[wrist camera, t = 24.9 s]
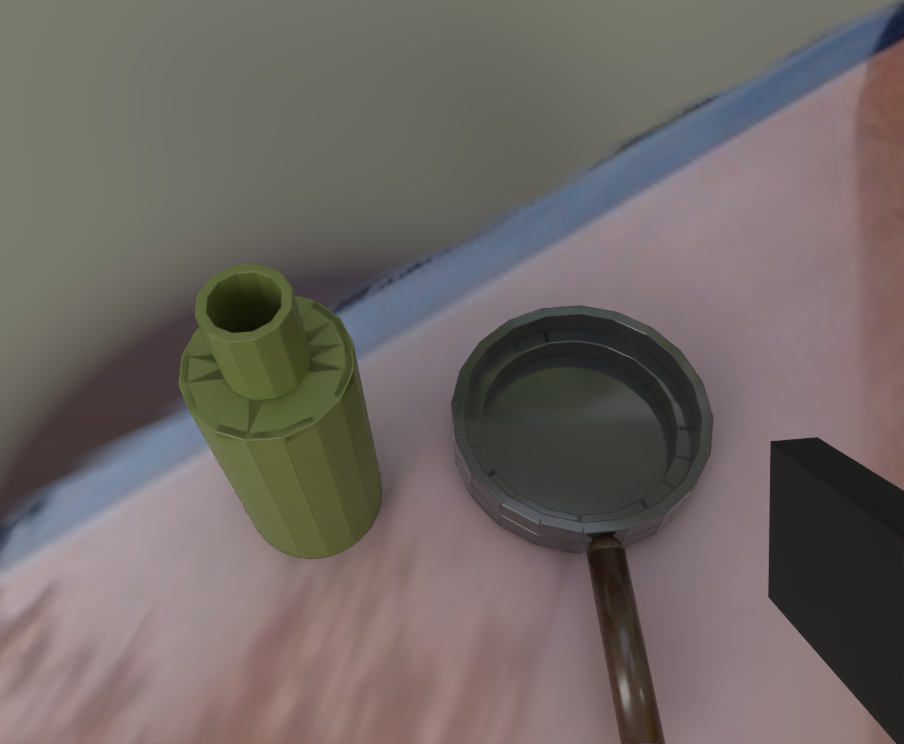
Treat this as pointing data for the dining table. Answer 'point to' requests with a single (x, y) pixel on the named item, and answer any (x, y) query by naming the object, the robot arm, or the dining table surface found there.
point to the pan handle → (623, 643)
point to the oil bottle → (283, 411)
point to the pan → (579, 427)
